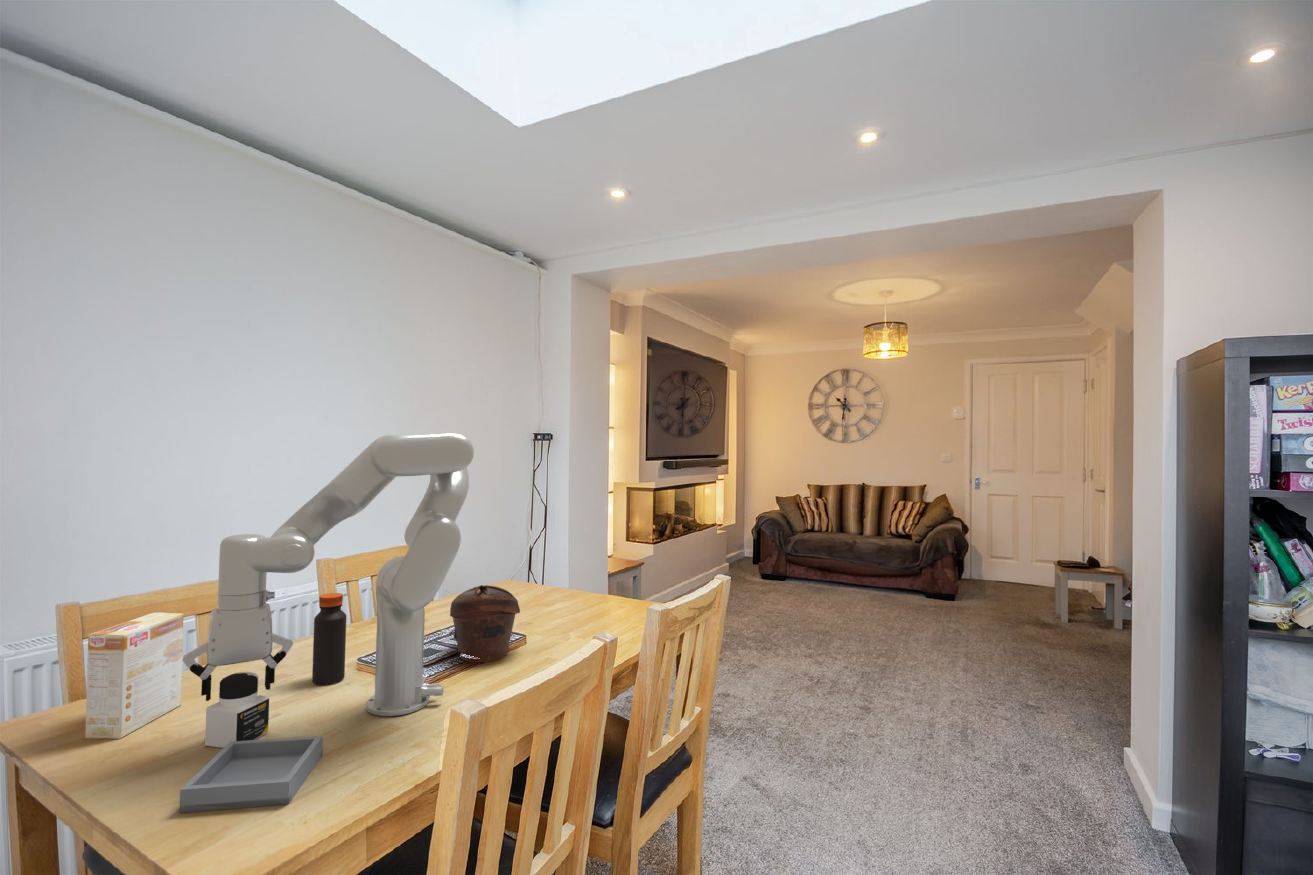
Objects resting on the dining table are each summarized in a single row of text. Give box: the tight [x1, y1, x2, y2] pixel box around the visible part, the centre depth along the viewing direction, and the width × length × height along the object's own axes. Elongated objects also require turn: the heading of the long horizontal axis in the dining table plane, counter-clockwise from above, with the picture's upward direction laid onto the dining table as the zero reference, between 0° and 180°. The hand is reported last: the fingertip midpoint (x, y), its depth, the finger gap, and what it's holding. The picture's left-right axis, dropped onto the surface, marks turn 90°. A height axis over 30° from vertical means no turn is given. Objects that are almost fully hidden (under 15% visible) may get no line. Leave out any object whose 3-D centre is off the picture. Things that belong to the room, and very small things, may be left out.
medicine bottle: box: [204, 671, 270, 749], centre depth 114 cm, size 7×7×12 cm
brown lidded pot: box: [449, 584, 521, 663], centre depth 163 cm, size 18×20×18 cm
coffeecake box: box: [84, 612, 185, 740], centre depth 120 cm, size 15×7×20 cm, turn 1°
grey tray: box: [178, 735, 324, 814], centre depth 100 cm, size 15×15×4 cm
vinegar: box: [311, 592, 347, 686], centre depth 142 cm, size 7×7×20 cm
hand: (238, 692), depth 114 cm, fingers open, 8 cm apart
